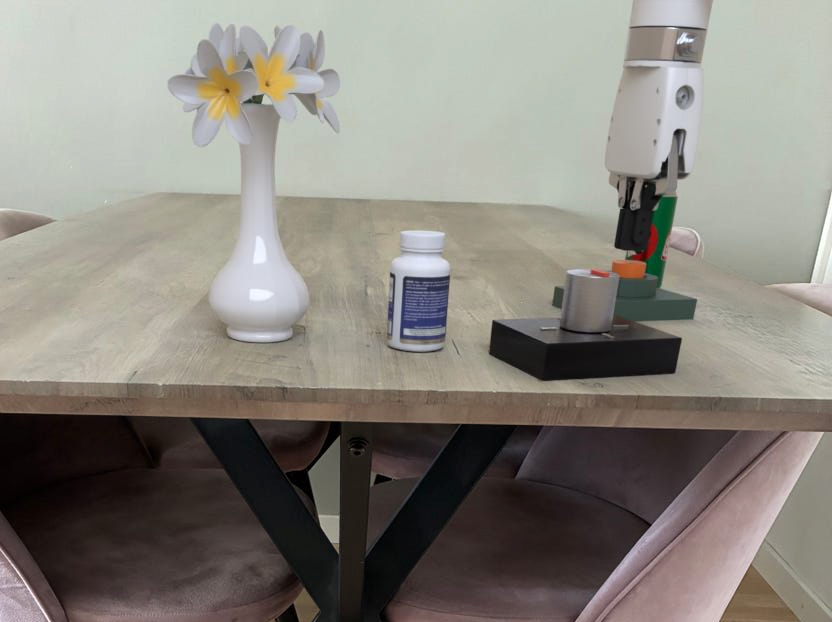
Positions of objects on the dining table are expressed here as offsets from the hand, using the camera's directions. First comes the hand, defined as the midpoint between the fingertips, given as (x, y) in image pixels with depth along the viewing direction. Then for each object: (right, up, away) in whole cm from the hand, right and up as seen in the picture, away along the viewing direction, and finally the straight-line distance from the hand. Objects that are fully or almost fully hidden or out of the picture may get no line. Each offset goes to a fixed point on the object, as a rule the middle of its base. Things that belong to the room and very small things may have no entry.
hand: (630, 249), depth 104 cm
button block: (0, -6, +3) cm, 7 cm away
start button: (0, -3, +1) cm, 3 cm away
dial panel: (-10, -18, -20) cm, 29 cm away
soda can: (+7, +2, +18) cm, 20 cm away
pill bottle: (-24, -16, -16) cm, 33 cm away
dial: (-10, -16, -21) cm, 28 cm away
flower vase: (-39, -15, -15) cm, 44 cm away
